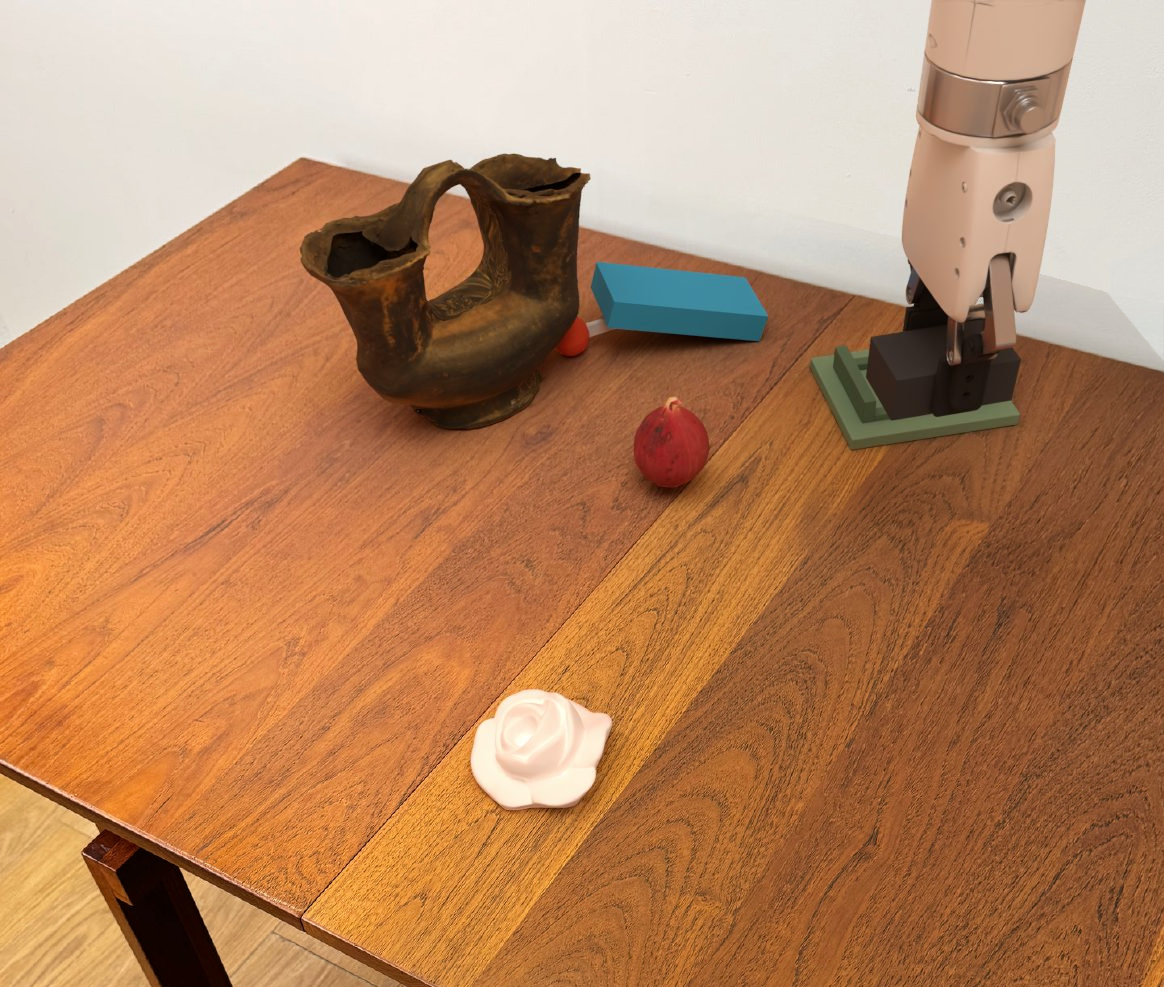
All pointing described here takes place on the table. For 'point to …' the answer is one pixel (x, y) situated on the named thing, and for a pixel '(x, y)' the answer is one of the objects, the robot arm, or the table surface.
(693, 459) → the onion
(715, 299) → the lever
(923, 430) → the base pad
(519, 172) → the pottery vessel
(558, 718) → the rose
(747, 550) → the table surface
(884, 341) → the black block
